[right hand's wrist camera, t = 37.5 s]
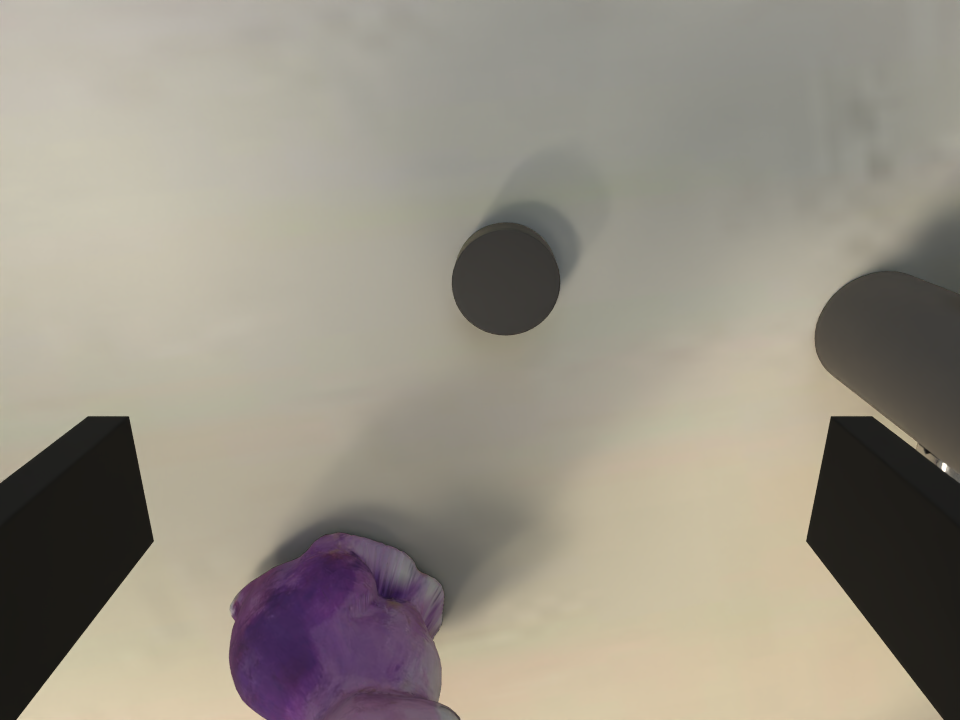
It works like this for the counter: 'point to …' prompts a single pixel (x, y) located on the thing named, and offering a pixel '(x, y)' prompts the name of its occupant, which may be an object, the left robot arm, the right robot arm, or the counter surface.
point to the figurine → (340, 636)
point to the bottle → (899, 354)
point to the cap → (505, 279)
